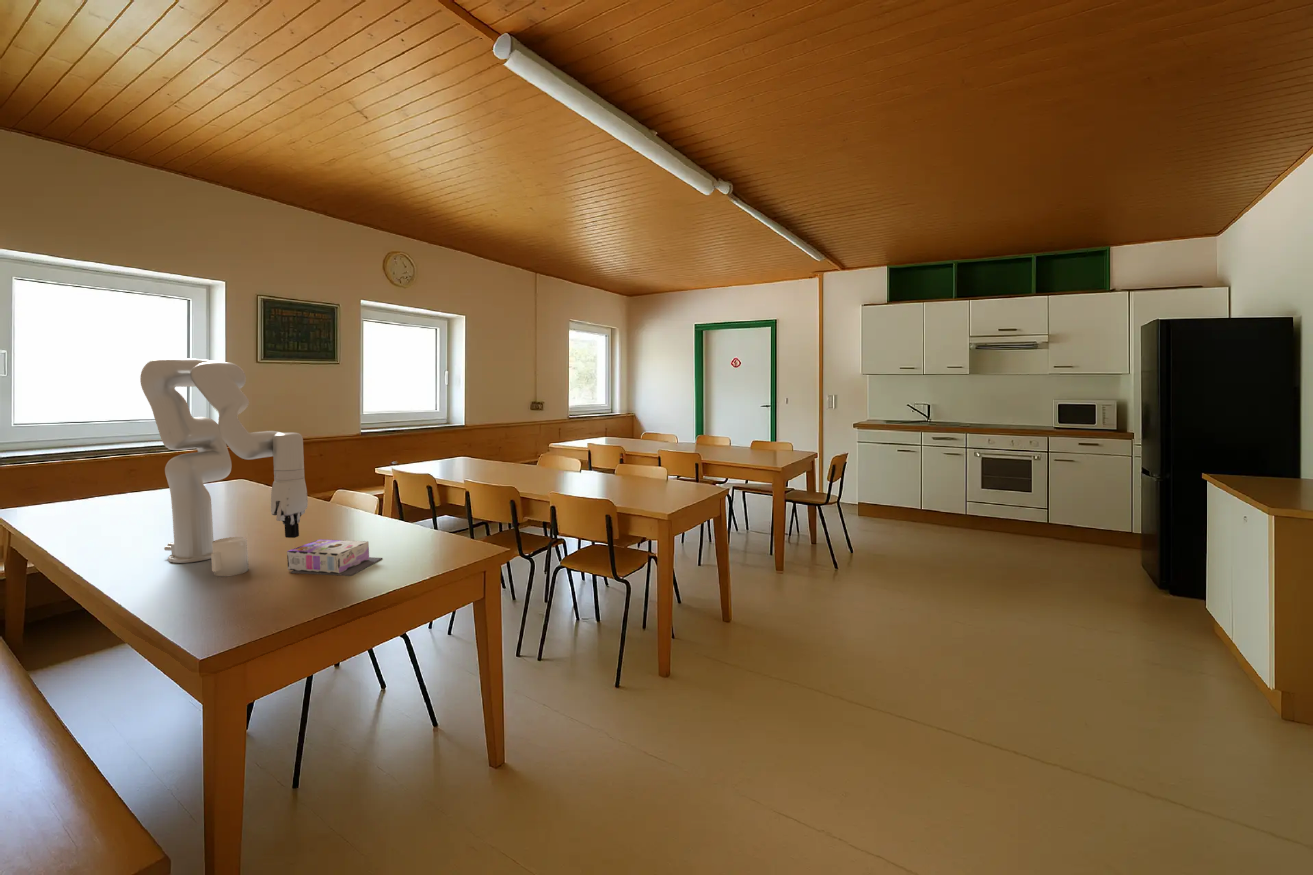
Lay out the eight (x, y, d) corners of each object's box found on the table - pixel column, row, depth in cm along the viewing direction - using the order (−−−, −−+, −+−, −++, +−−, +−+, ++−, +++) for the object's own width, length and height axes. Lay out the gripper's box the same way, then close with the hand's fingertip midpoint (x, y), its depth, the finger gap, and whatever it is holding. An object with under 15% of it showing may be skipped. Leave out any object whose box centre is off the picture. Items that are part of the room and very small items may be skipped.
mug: (200, 577, 167) (198, 545, 166) (229, 566, 176) (227, 536, 176) (227, 579, 166) (226, 546, 165) (255, 568, 176) (253, 537, 175)
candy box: (286, 570, 173) (339, 574, 170) (285, 550, 172) (338, 553, 169) (321, 557, 186) (370, 560, 183) (320, 538, 186) (369, 540, 183)
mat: (290, 573, 172) (290, 571, 172) (326, 556, 188) (326, 555, 187) (351, 575, 170) (351, 574, 170) (382, 559, 186) (382, 557, 186)
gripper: (294, 471, 185) (297, 530, 187) (258, 478, 170) (261, 543, 172) (318, 471, 185) (320, 531, 186) (283, 479, 170) (286, 544, 172)
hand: (292, 536), depth 179 cm, fingers closed
